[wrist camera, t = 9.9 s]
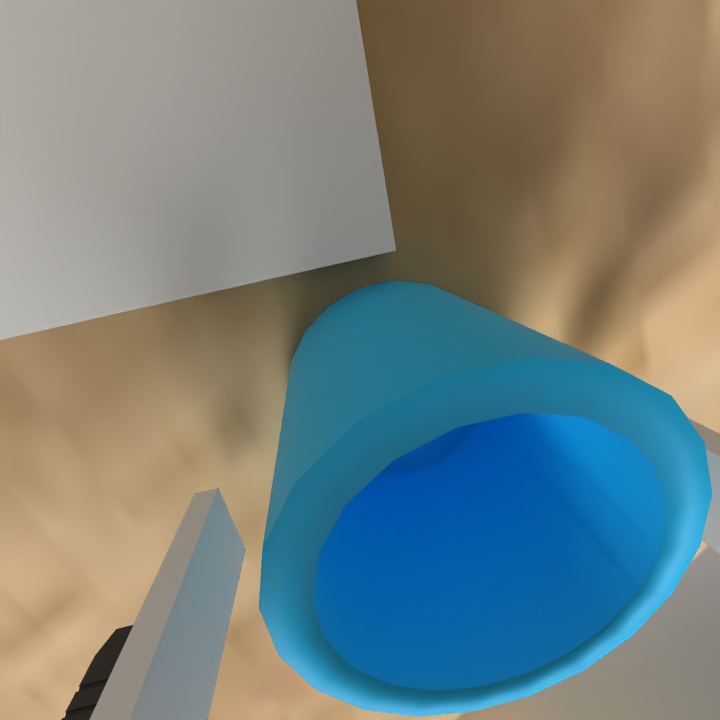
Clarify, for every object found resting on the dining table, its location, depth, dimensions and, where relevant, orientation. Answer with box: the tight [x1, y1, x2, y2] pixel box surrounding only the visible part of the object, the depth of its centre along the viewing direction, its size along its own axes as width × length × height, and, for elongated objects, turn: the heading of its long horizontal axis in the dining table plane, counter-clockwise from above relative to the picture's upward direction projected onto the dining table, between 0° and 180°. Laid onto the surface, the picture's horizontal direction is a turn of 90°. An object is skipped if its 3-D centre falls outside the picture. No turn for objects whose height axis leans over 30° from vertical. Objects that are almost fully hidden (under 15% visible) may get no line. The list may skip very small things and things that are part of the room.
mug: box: [259, 280, 713, 716], centre depth 11 cm, size 12×8×8 cm
